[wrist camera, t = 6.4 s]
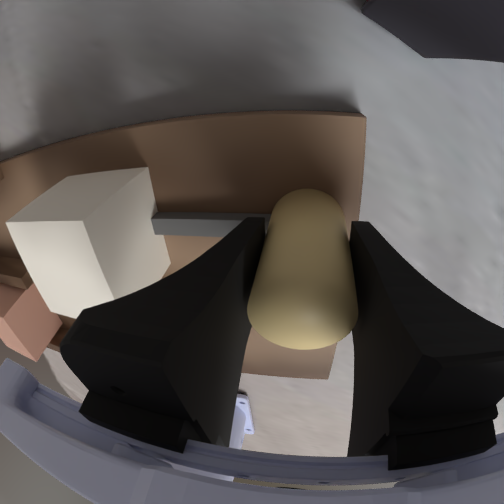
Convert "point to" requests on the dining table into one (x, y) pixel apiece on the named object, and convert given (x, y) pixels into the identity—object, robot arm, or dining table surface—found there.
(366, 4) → the calculator
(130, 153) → the shelf
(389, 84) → the dining table surface
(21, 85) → the dining table surface
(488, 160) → the dining table surface
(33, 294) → the untied block
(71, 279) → the tethered block
